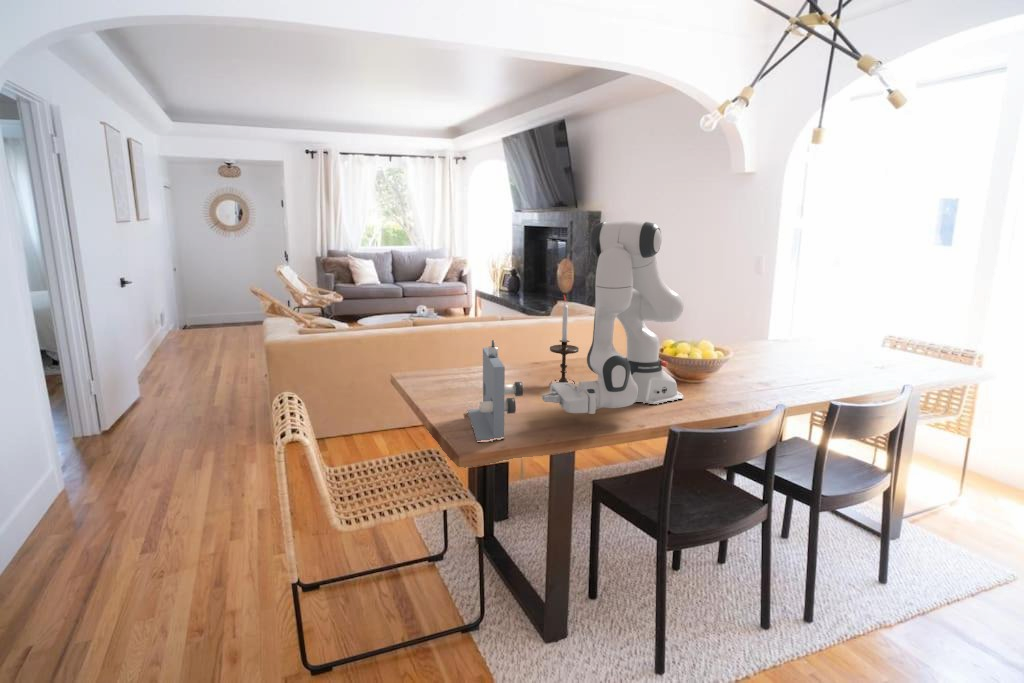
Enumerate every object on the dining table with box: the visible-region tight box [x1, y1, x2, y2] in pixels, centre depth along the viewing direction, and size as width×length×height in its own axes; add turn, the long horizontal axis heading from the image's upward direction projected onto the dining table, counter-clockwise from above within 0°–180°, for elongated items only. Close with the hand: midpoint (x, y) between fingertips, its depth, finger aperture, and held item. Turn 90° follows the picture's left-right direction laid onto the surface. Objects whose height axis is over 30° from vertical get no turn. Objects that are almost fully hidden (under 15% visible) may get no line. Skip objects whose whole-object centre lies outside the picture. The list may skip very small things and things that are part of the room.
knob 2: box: [504, 381, 524, 397], centre depth 187 cm, size 10×5×5 cm, turn 100°
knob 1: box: [479, 397, 517, 415], centre depth 171 cm, size 10×5×5 cm, turn 100°
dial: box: [487, 339, 499, 358], centre depth 175 cm, size 3×3×5 cm
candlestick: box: [549, 294, 580, 385], centre depth 221 cm, size 11×11×35 cm
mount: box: [467, 347, 506, 442], centre depth 178 cm, size 8×26×22 cm, turn 10°
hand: (543, 397), depth 180 cm, fingers closed
